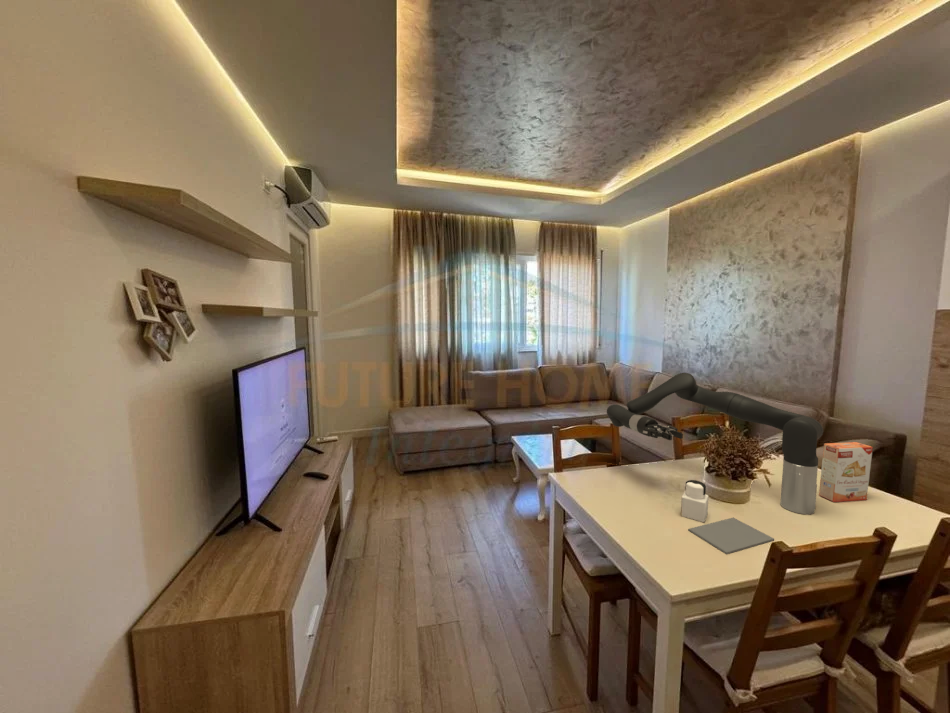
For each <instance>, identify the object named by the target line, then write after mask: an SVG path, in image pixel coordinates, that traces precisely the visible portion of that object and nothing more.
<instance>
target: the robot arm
mask: <svg viewBox="0 0 950 713" xmlns="http://www.w3.org/2000/svg"><path fill="white" fill-rule="evenodd" d="M696 381H697V380H696V379H695V377H694V376H693V374H691V373H689V372H680V373H678V374H676V375H674V376H672V377H671V378H669V379H668V380H666V381H664V382H662V383H661V384H660V385H657V386H656V387H654V389H652V390H650V391H648V392H647V393H645V394H643V395H642V394H641V395H640V396H639V397H637V398H634V399H632V400H630V401H627V403H626V406H627V408H626V407H623V405H620V404H611V405H609V406H608V407H607V409H606V414H607V416H608V418H609V420H610V421H611V423H612V424H613V426H614V427H617V428H620V427H625V428H627V429H630V430H632V431H634V432H636V433H637V434H638V433H639V434H640V435H644V436H646V437H648V438H649V437H651V438H654V439H658V438H659V439H665V440H667V441H672V440H673V437H674V438H676V439H680V440H682V439H683V438H684V435H683V434H684V433H683V432H680V431H678V430H679V429H678V428H677V427H675V426H673V425H672V424H671V425H670V424H667V426H666V425H663V424H661V423H658V421H657V420H656V419H655V418H651V417H649V416H646V415H642V414H644V413H646V412H648V411H650V410H651V409H653V408H654V407H656V406H657V405H659V403H660V402H661V401H662V400H664V399H665V398H666V397H670V395H672V394H675V395H676V396H677V397H678V398H680V399H683V400H686V401H689V402H692V403H696V404H700V405H702V406H704V407H705V406H706V407H708V408H710V409H713V410H715V411H718V412H721V413H723V414H725V415H728V416H731V417H733V418H736V419H738V420H741V421H745V422H750V423H755V424H759V425H766V426H770V427H772V428H775V429H777V430H780V431H782V438H781V446H782V447H781V450H782V451H781V452H782V456H783V459H782V460H783V463H782V473H781V474H782V476H781V491H780V506H781V507H783V509H785V510H788V511H790V512H791V513H792V512H793V513H796V514H801V515H813V514H814V513H815V510H816V507H817V506H816V505H817V491H818V484H817V482H818V468H819V457H818V456H817V447H818V446H817V445H818V444H817V442H818V440H819V439H820V438H821V437H823V435H824V428H823V426H822V424H821V423H820V422H819V421H818V420H816V418H814V417H810V416H807V415H805V414H800V413H795V412H792V411H789V410H785V409H781V408H778V407H774V406H773V405H770V404H767V403H765V402H761V401H759V400H757V399H753V398H751V397H748V396H746V395H742V394H739V393H737V392H733V391H716V390H715V391H714V390H710V389H708V388H705V387H702V386H699V385H698V384H697V382H696Z"/></svg>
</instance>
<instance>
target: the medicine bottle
mask: <svg viewBox="0 0 950 713" xmlns="http://www.w3.org/2000/svg"><path fill="white" fill-rule="evenodd" d="M706 491H707V486H706V484H705V483H703V482H702V481H699V480H696V479H689V480H686V481H685V489H684V492H683V494H682V496H681V507H680V508H681V511H680V515H681V517H683V518H686V519H691V520H695V521H698V522H700V523H701V522H702V523H705V522H706V520H707V518H708V517H707V516H708V513H709V494H706V493H707V492H706Z"/></svg>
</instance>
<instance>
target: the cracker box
mask: <svg viewBox="0 0 950 713" xmlns="http://www.w3.org/2000/svg"><path fill="white" fill-rule="evenodd" d="M873 448H874V447H873V446H871V445H867V444H864V443H861V442H856V441H853V442H852V441H851V442H829V443H828V442H827V443H823V449H822V450H823V451H822V462H821V470H820V478H819V479H820V482H819V492H818V496H820V497H822V498H824V499H826V500H828V501H830V502H833V503H837V502H838V503H839V502H841V503H842V502H855V501H867V498H868V492H869V482H870V474H871V473H870V472H871V466H872V457H873Z"/></svg>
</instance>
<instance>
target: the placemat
mask: <svg viewBox="0 0 950 713" xmlns="http://www.w3.org/2000/svg"><path fill="white" fill-rule="evenodd" d="M688 532H689V533H692V534H693V535H695V536H696V537H697V538H700V539H701V540H702V541H704V542H706V543H707V544H709V545H711V546H713V547H714V548H715V549H717V550H719V551H720V552H722V553H724V554H725V555H730V554H733V553H737V552H740V551H742V550H743V551H744V550H747V549H750V548H752V547H753V548H754V547H757V546H759V545H763V544H767V543H771V542H773V541H775V538H774V537H772V536H771V535H768V534H766V533H764V532H763V531H760V530H758V529H757V528H754V527H753V526H751V525H749V524H747V523H745V522H743V521H741V520H739V519H737V518H735V517H730V518H726V519H722V520H718V521H714V522H710V523H706V524H702V525H699V526H693V527H690V528H688ZM772 540H773V541H772ZM769 541H770V542H769Z"/></svg>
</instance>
